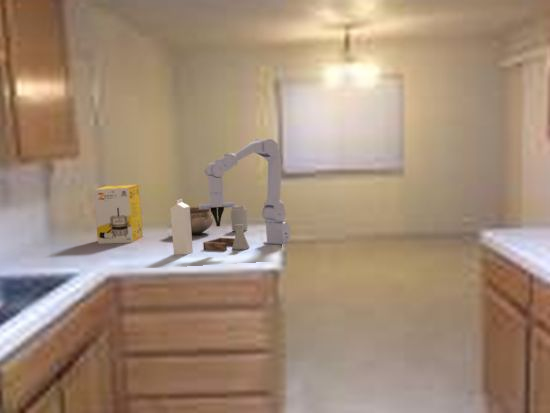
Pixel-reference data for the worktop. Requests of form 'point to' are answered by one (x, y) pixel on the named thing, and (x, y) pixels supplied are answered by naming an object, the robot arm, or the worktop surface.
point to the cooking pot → (200, 220)
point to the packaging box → (118, 214)
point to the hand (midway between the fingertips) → (218, 226)
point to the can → (239, 217)
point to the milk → (181, 228)
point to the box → (218, 244)
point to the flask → (240, 239)
